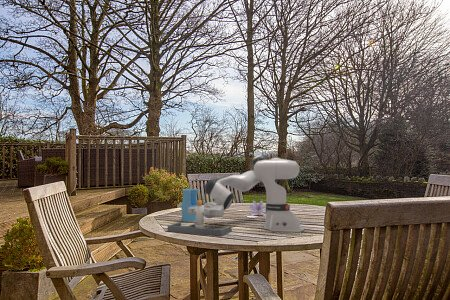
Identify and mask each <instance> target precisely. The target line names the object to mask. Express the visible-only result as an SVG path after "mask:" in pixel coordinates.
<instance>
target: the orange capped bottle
mask: <svg viewBox="0 0 450 300" xmlns="http://www.w3.org/2000/svg"><path fill="white" fill-rule="evenodd" d="M197 203H198V206H196V221H195V223H196V224H195V223H194V224H195V227H197V228H202V227H206V226H205V224H204V222H205V220H204V219H205V218H204V217H205V216H204V215H203V211H204V206H203V200H201V199H199V200H197Z"/></svg>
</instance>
